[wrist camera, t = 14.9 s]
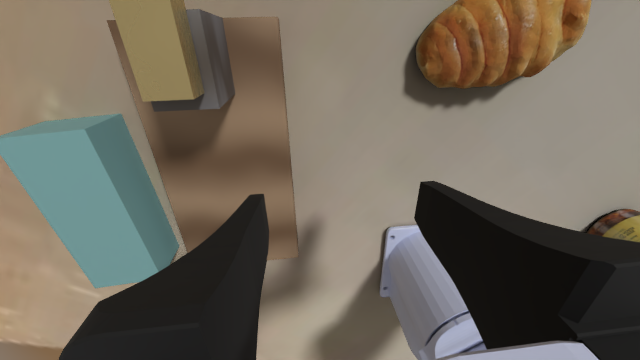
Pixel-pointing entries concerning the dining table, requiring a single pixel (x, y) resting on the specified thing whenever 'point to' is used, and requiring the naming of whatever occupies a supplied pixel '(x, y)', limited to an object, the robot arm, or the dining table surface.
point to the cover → (94, 195)
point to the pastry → (498, 40)
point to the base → (225, 131)
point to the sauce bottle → (619, 225)
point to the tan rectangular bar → (159, 48)
